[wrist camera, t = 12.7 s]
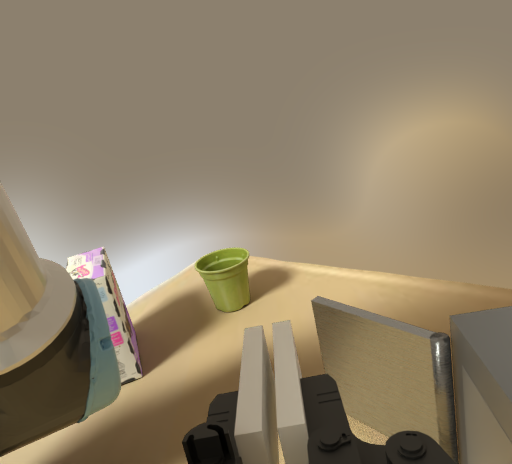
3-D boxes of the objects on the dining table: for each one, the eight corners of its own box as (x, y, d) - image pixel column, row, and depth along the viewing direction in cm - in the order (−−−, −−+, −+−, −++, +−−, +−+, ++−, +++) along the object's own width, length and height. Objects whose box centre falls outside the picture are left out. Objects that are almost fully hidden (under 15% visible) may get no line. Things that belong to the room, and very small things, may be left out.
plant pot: (208, 296, 79) (196, 254, 76) (258, 285, 79) (248, 242, 76) (205, 323, 70) (191, 276, 67) (261, 311, 70) (249, 264, 67)
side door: (464, 458, 37) (456, 332, 32) (454, 475, 36) (444, 345, 31) (341, 395, 47) (322, 292, 42) (329, 406, 45) (309, 301, 41)
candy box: (144, 377, 60) (106, 274, 54) (102, 394, 58) (58, 289, 53) (136, 332, 72) (104, 244, 67) (101, 344, 71) (66, 255, 65)
